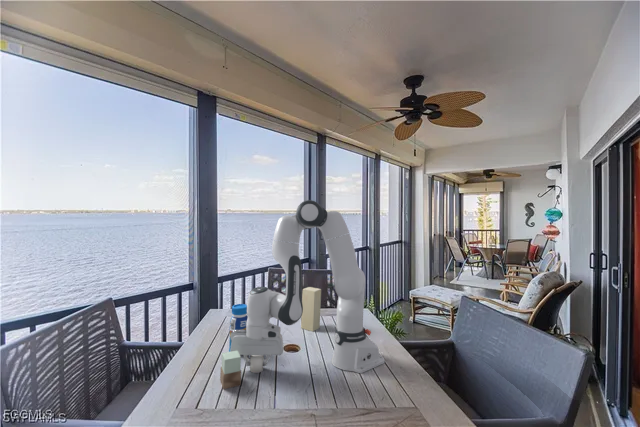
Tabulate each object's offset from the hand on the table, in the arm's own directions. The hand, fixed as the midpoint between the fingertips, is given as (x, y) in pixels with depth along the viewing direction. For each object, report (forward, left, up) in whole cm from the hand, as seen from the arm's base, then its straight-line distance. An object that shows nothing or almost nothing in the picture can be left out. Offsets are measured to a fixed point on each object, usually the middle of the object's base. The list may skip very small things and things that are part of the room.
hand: (256, 365), depth 117 cm
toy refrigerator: (-38, -30, -2) cm, 48 cm away
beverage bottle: (+3, -18, -2) cm, 18 cm away
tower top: (+11, +5, +3) cm, 13 cm away
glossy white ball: (0, 0, -2) cm, 2 cm away
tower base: (+11, +5, -2) cm, 12 cm away
